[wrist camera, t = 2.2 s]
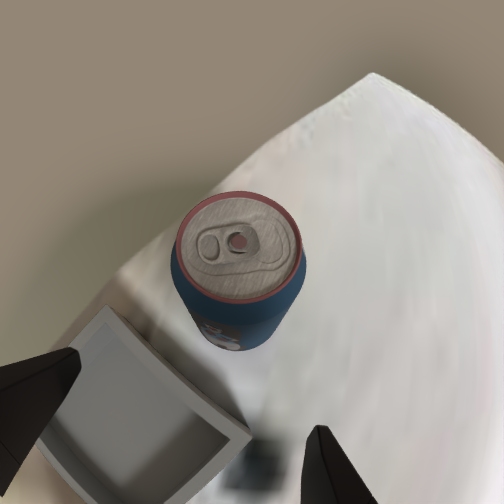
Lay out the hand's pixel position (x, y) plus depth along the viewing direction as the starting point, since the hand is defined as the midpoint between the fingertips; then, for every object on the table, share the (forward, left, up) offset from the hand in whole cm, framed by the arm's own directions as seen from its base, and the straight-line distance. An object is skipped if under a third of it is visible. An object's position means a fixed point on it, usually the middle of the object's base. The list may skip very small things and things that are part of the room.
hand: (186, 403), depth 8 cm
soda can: (+3, -7, -13) cm, 15 cm away
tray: (+3, +7, -13) cm, 15 cm away
